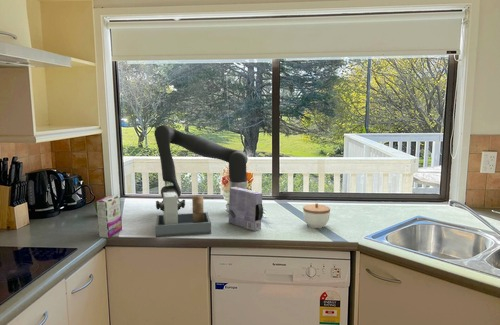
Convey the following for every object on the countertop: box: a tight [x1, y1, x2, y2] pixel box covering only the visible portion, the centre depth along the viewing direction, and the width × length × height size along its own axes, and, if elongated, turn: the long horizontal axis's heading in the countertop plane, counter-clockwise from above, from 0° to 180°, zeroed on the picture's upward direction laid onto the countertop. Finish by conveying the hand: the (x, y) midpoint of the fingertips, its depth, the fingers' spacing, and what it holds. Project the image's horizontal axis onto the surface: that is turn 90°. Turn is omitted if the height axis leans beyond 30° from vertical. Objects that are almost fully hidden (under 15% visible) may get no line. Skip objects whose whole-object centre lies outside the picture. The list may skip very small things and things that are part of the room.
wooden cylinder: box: [191, 194, 205, 223], centre depth 168 cm, size 5×5×14 cm
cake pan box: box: [228, 187, 264, 232], centre depth 171 cm, size 19×5×18 cm, turn 45°
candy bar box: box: [95, 194, 123, 239], centre depth 160 cm, size 11×5×16 cm, turn 168°
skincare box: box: [162, 192, 179, 225], centre depth 165 cm, size 8×6×15 cm
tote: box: [155, 212, 212, 238], centre depth 167 cm, size 24×17×5 cm
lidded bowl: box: [302, 203, 331, 229], centre depth 171 cm, size 13×13×11 cm
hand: (170, 208), depth 163 cm, fingers closed on skincare box, 6 cm apart
